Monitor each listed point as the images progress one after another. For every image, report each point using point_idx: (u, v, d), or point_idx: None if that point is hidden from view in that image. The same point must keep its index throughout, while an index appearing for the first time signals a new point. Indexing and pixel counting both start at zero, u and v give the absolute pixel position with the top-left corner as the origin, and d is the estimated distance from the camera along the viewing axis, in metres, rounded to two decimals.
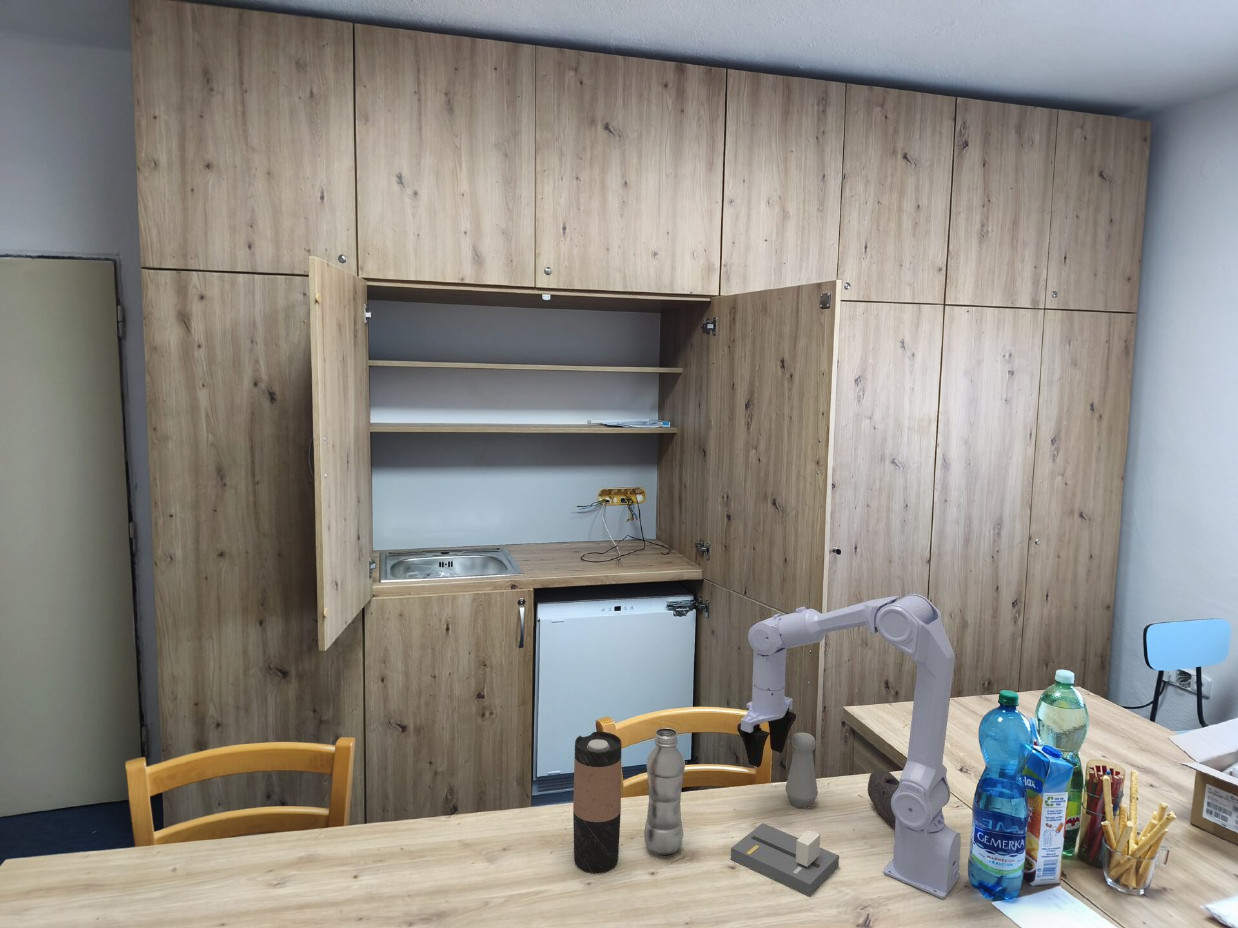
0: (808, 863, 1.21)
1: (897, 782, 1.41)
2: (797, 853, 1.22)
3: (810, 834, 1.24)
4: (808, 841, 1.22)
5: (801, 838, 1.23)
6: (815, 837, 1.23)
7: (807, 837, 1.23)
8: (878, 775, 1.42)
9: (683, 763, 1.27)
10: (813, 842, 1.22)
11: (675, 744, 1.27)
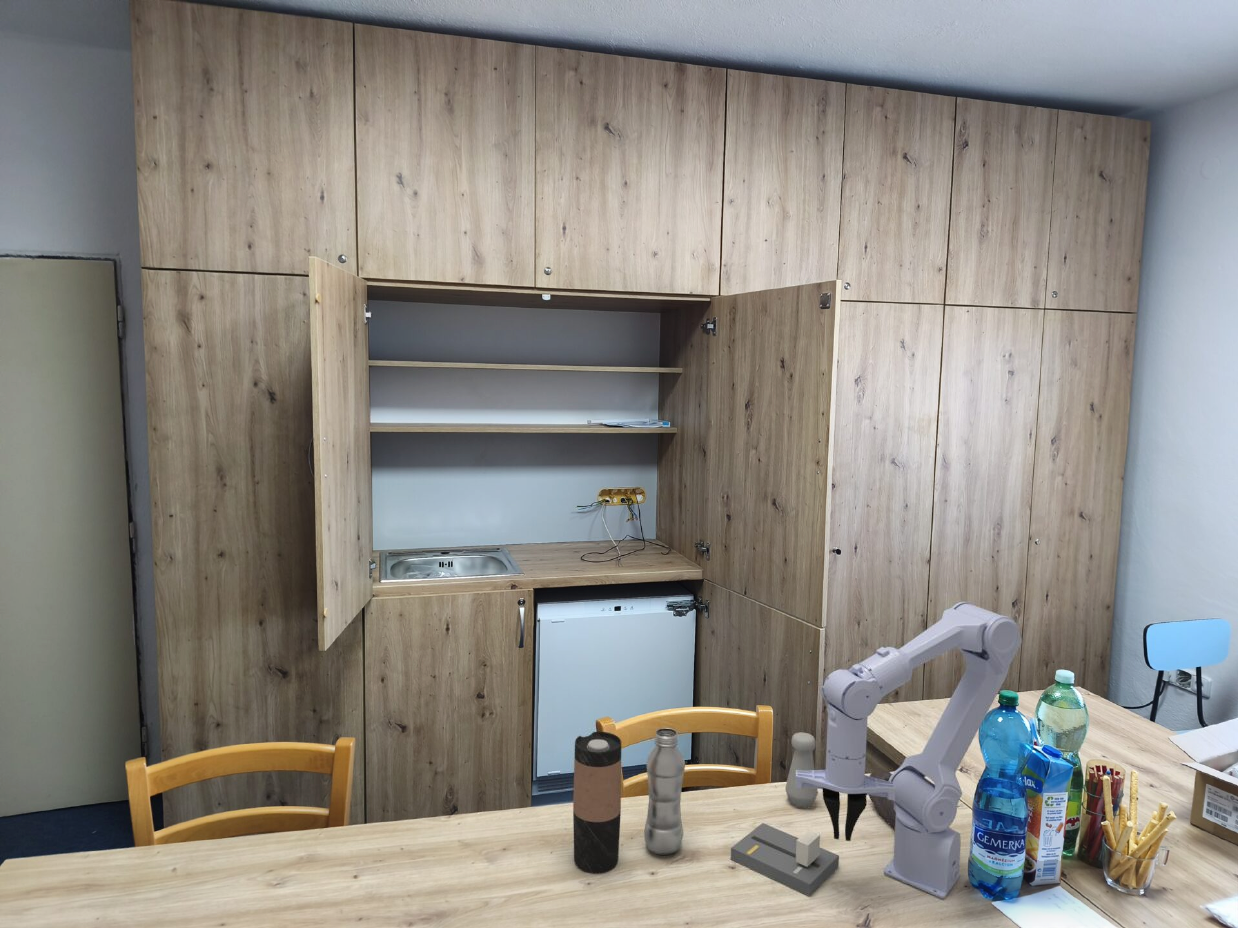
0: (808, 863, 1.21)
1: None
2: (797, 853, 1.22)
3: (810, 834, 1.24)
4: (808, 841, 1.22)
5: (801, 838, 1.23)
6: (815, 837, 1.23)
7: (807, 837, 1.23)
8: (878, 775, 1.43)
9: (683, 763, 1.27)
10: (813, 842, 1.22)
11: (675, 744, 1.27)
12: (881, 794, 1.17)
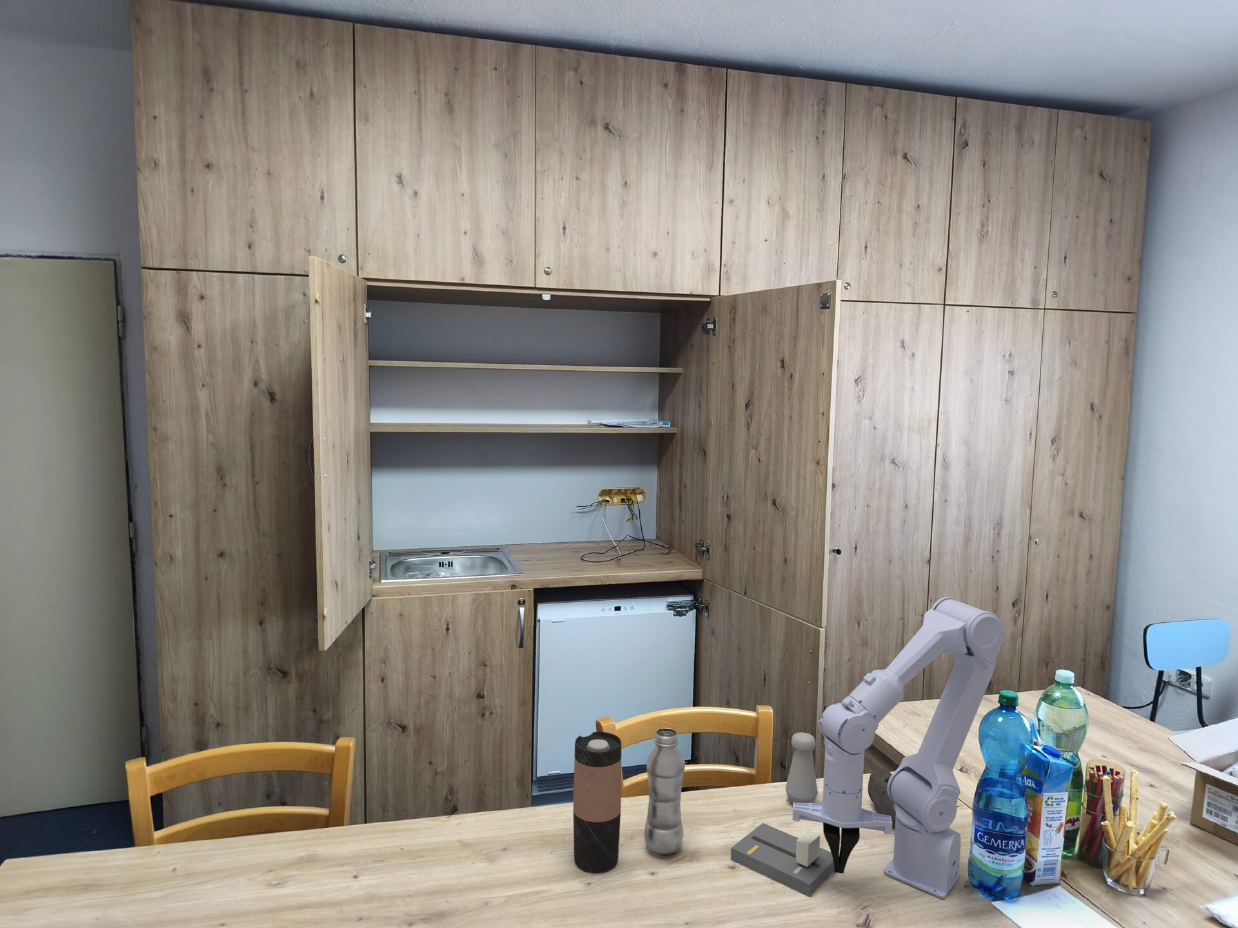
0: (808, 863, 1.21)
1: None
2: (797, 853, 1.22)
3: (810, 834, 1.24)
4: (808, 841, 1.22)
5: (801, 838, 1.23)
6: (815, 837, 1.23)
7: (807, 837, 1.23)
8: (878, 775, 1.42)
9: (683, 763, 1.27)
10: (813, 842, 1.22)
11: (675, 744, 1.27)
12: (878, 828, 1.17)
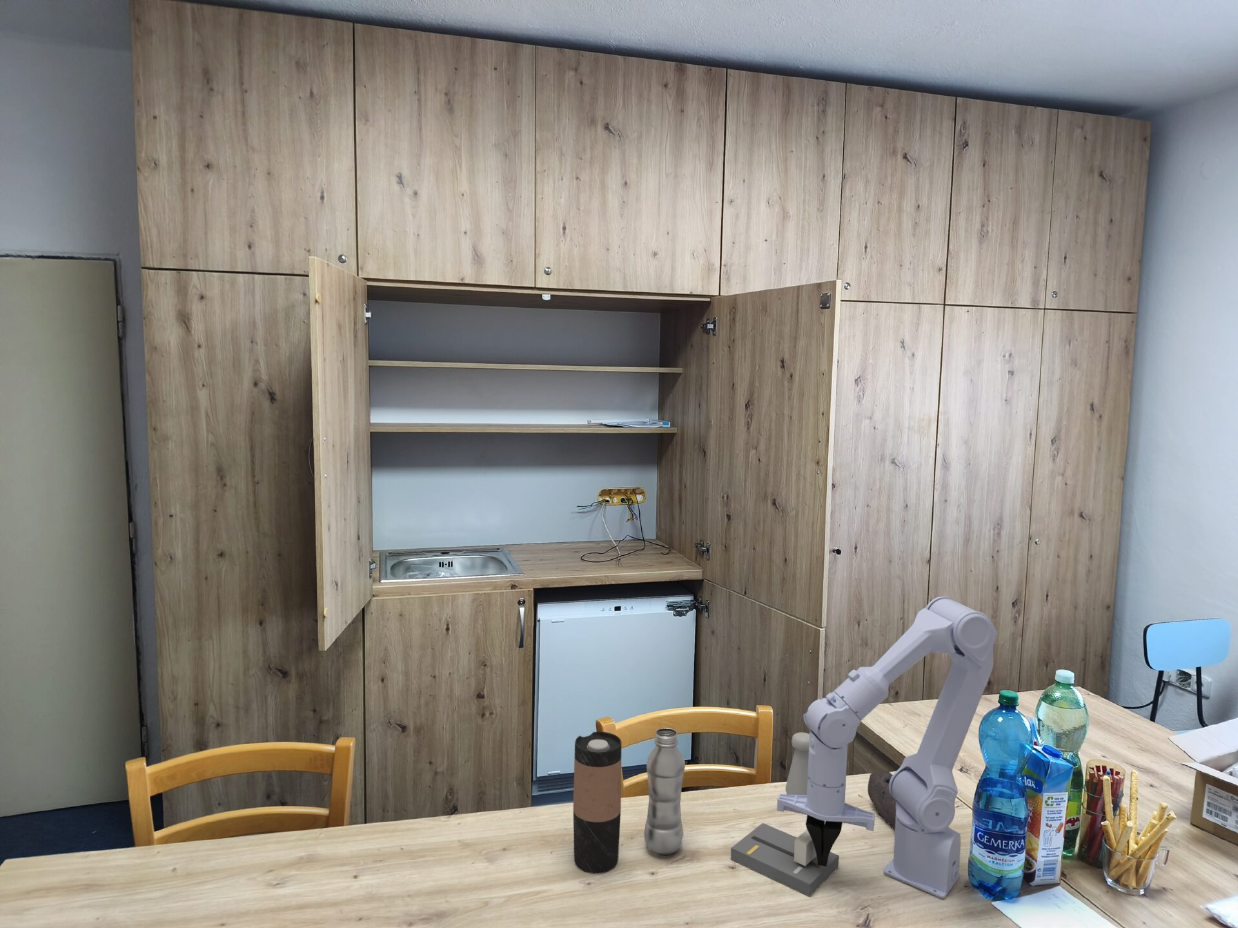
0: (806, 862, 1.21)
1: None
2: (795, 852, 1.22)
3: (809, 834, 1.24)
4: (806, 841, 1.22)
5: (799, 837, 1.23)
6: None
7: (805, 836, 1.23)
8: (878, 775, 1.43)
9: (683, 763, 1.27)
10: (811, 841, 1.22)
11: (675, 744, 1.27)
12: (860, 824, 1.19)
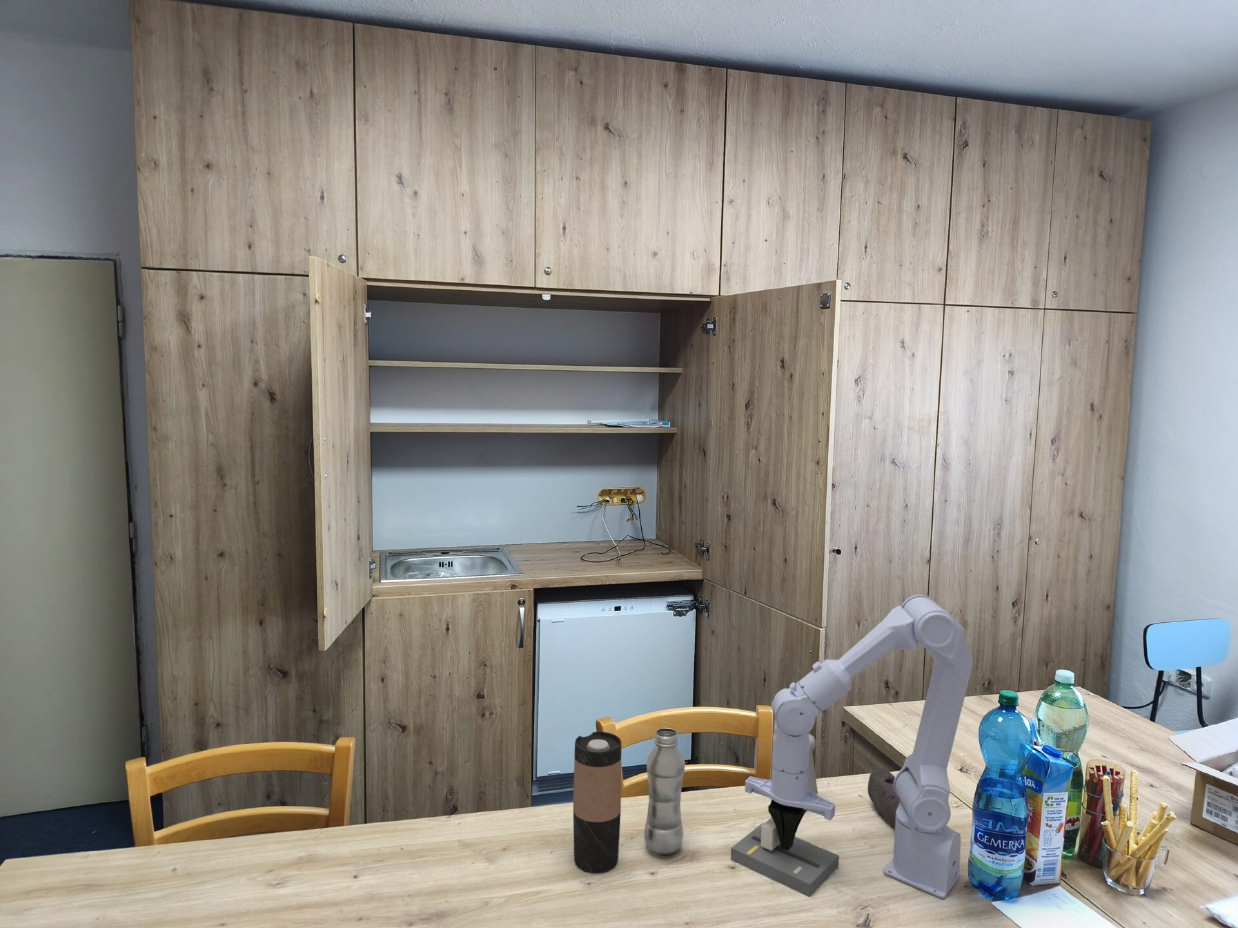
0: (772, 847, 1.25)
1: None
2: (762, 838, 1.26)
3: None
4: (772, 826, 1.26)
5: (766, 823, 1.27)
6: None
7: (772, 822, 1.27)
8: (878, 775, 1.42)
9: (683, 763, 1.27)
10: None
11: (675, 744, 1.27)
12: (820, 812, 1.22)
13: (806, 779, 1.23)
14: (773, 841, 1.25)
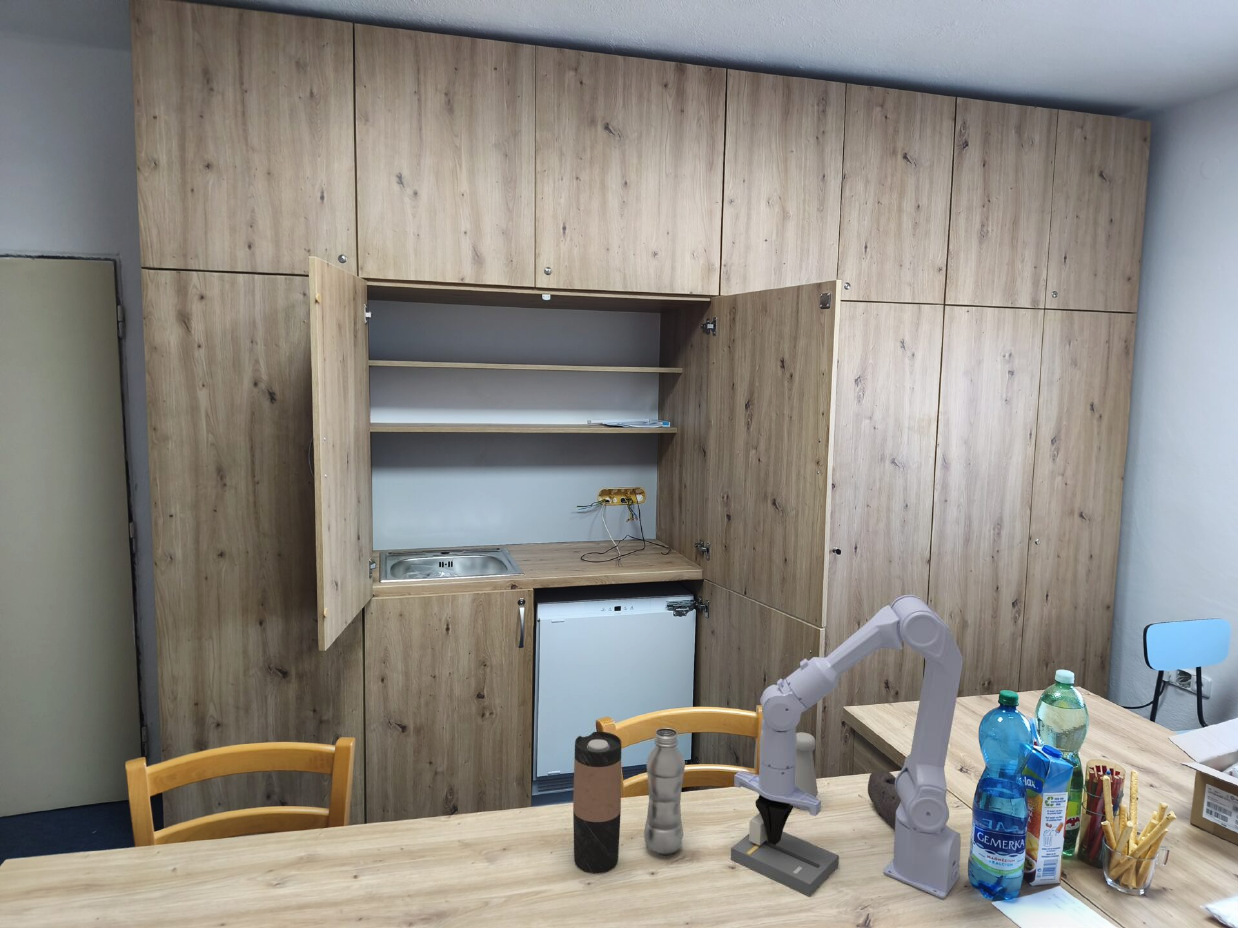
0: (760, 842, 1.27)
1: None
2: (750, 832, 1.28)
3: None
4: (760, 821, 1.27)
5: (754, 818, 1.28)
6: None
7: (760, 817, 1.28)
8: (878, 775, 1.43)
9: (683, 763, 1.27)
10: None
11: (675, 744, 1.27)
12: (806, 808, 1.23)
13: (793, 775, 1.24)
14: (761, 836, 1.27)
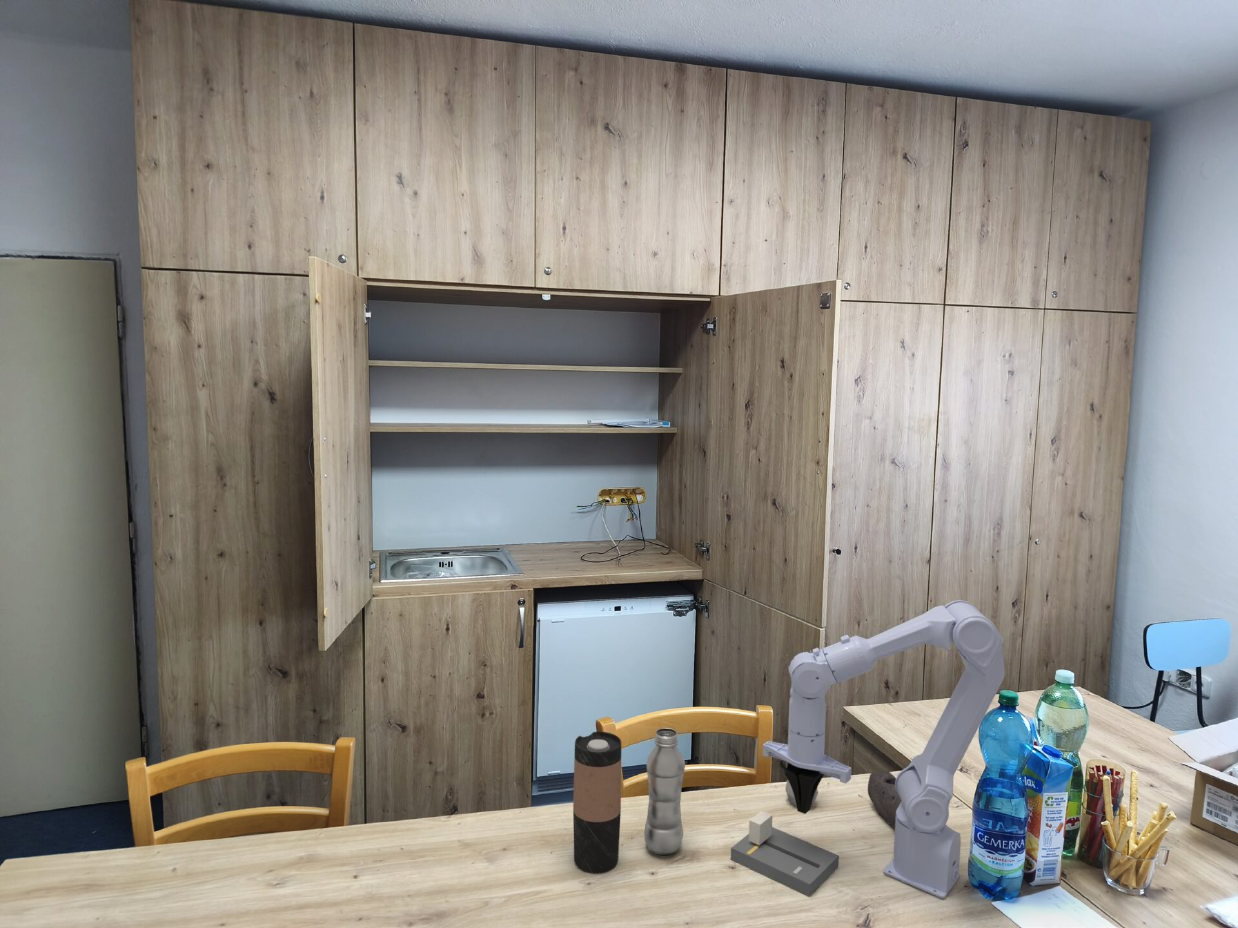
0: (760, 842, 1.27)
1: None
2: (750, 832, 1.28)
3: (763, 815, 1.29)
4: (760, 821, 1.27)
5: (754, 818, 1.28)
6: (767, 817, 1.29)
7: (760, 817, 1.28)
8: (878, 775, 1.43)
9: (683, 763, 1.27)
10: (765, 822, 1.28)
11: (675, 744, 1.27)
12: (836, 776, 1.22)
13: (822, 743, 1.23)
14: (761, 836, 1.27)
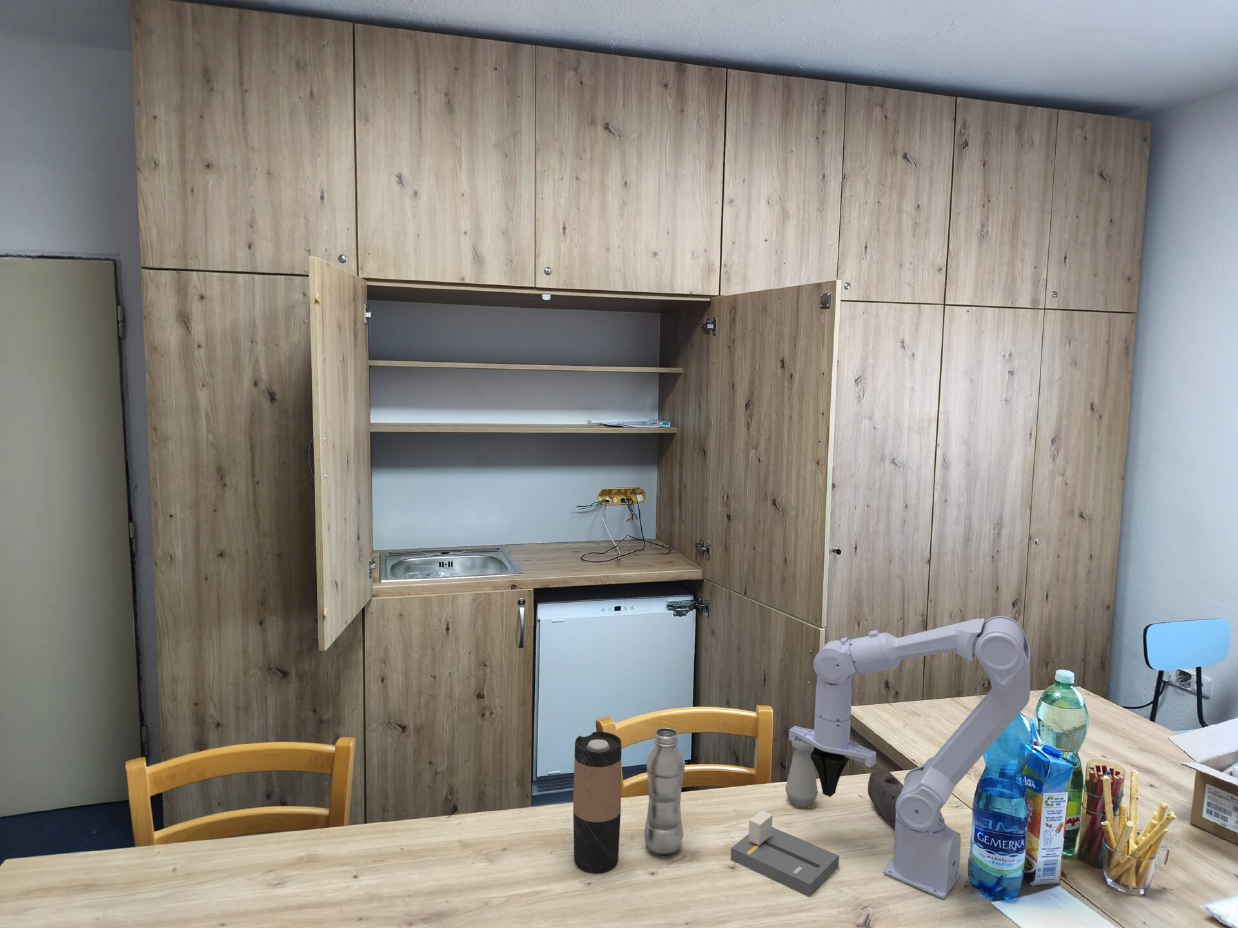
0: (760, 842, 1.27)
1: (897, 782, 1.41)
2: (750, 832, 1.28)
3: (763, 815, 1.29)
4: (760, 821, 1.27)
5: (754, 818, 1.28)
6: (767, 817, 1.29)
7: (760, 817, 1.28)
8: (878, 775, 1.43)
9: (683, 763, 1.27)
10: (765, 822, 1.28)
11: (675, 744, 1.27)
12: (861, 760, 1.26)
13: (848, 728, 1.27)
14: (761, 836, 1.27)
